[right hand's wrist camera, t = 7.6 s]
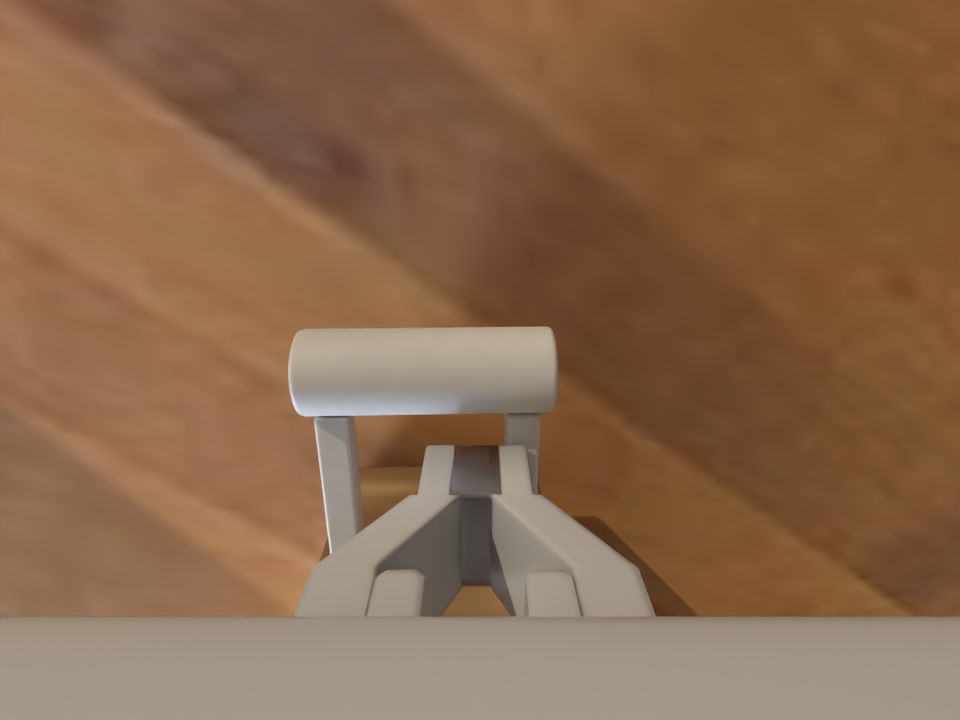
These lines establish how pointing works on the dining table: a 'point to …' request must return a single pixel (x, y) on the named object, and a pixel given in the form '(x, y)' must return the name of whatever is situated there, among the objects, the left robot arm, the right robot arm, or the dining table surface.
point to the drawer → (415, 409)
